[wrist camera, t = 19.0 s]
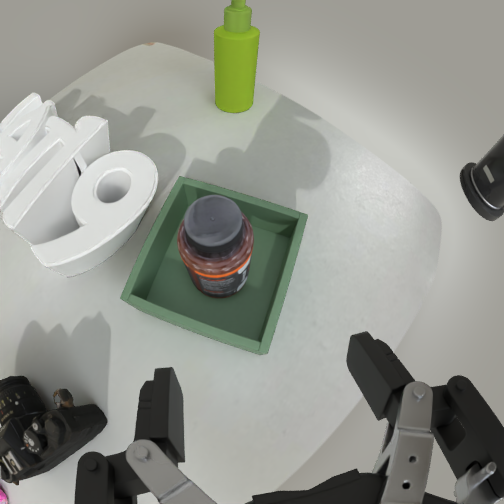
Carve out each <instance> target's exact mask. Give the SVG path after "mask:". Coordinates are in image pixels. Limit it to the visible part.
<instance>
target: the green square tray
mask: <svg viewBox="0 0 504 504" xmlns="http://www.w3.org/2000/svg"><path fill="white" fill-rule="evenodd" d="M208 195H221V196H225V197H227V198H229V199H231V200H232V201H234V202H235V203H236V204H237V206H238V207H239V209H240V211H241V212H242V213H243V214H244V215H245V216H246V217H247V219H248V220H249V222H250V224H251V225H252V229H253V235H254V244H253V251H252V256H251V262H250V269H249V274H248V278H247V280H246V283H245V284H244V286H243V287H242V289H241V290H240V291H238V292H237V293H236V294H234V295H232V296H230V297H227V298H212V297H208V296H206V295H205V294H203V293H202V292H200V291H199V290H198V289H197V288H196V286H195V285H194V284H193V282H192V280H191V278H190V275H189V273H188V271H187V269H186V267H185V265H184V262H183V260H182V258H181V256H180V253H179V250H178V245H177V235H178V230H179V227H180V225H181V223H182V221H183V219H184V217H185V214H186V211H187V209H188V208H189V206H190V205H191V204H192V203H193V202H194V201H196V200H197V199H199V198H201V197H204V196H208ZM307 217H308V215H307V214H304V213H300V212H298V211H295V210H292V209H289V208H286V207H283V206H280V205H277V204H274V203H271V202H268V201H264V200H261V199H258V198H255V197H251V196H248V195H245V194H242V193H238V192H235V191H232V190H228V189H225V188H221V187H218V186H214V185H211V184H207V183H204V182H200V181H197V180H193V179H190V178H185V177H182V176H179V178H178V180H177V181H176V183H175V185H174V187H173V189H172V190H171V192H170V194H169V196H168V198H167V200H166V202H165V204H164V205H163V207H162V209H161V211H160V213H159V215H158V217H157V219H156V221H155V223H154V225H153V227H152V229H151V231H150V233H149V235H148V237H147V239H146V241H145V243H144V245H143V248H142V250H141V252H140V254H139V256H138V258H137V260H136V263H135V265H134V267H133V269H132V272H131V274H130V276H129V278H128V281H127V283H126V285H125V288H124V290H123V292H122V295H121V297H120V298H121V299H122V300H123V301H125V302H127V303H128V304H130V305H131V306H133V307H135V308H136V309H138V310H140V311H143V312H145V313H147V314H150V315H152V316H154V317H157V318H159V319H162V320H164V321H167V322H169V323H172V324H174V325H177V326H179V327H182V328H184V329H187V330H190V331H192V332H195V333H197V334H200V335H203V336H206V337H208V338H211V339H214V340H217V341H220V342H223V343H225V344H228V345H231V346H234V347H237V348H240V349H243V350H246V351H250V352H253V353H256V354H259V355H263V354H267V353H268V350H269V347H270V344H271V341H272V338H273V335H274V332H275V328H276V325H277V322H278V319H279V315H280V312H281V309H282V306H283V302H284V299H285V296H286V292H287V289H288V286H289V282H290V279H291V275H292V272H293V268H294V265H295V261H296V258H297V254H298V251H299V247H300V243H301V240H302V236H303V232H304V229H305V225H306V221H307Z"/></svg>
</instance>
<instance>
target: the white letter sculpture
mask: <svg viewBox="0 0 504 504" xmlns="http://www.w3.org/2000/svg"><path fill="white" fill-rule="evenodd" d="M75 128H76V129H75ZM75 128H74V127H73V126H72V125H71V124H70V123H68V122H67V121H65V120H63V119H61V118H59V117H58V114H57V110H56V107H55V103H54V102H53V101H51V100H47V101H46V102H45V103H43V104H42V101H41V98H40V95H38V94H37V93H31V94H30V95H29V96H28V97H26V98H25V99H24V100H23V101H21V102H20V103H19V104H18V105H17V106H16V107H15V108H14V109H13V110H12V111H11V112H10V113H9V114H8V115H7V116H6V117H5V119H4V120H3V121H2V122H1V123H0V211H1V212H2V213H3V214H2V215H3V220H4V222H5V224H6V225H7V226H8V227H9V228H10V229H11V230H13V231H14V232H15V233H16V234H18V235H19V236H20V237H21V238H23V239H24V240H25V241H26V242H28V243H29V244H30V245H31V246H30V248H31V250H32V251H33V253H34V254H35V256H36V257H37V258H38V260H39V261H40V262H41V263H42V264H43V265H44V266H45V267H46V268H48V269H51V270H53V271H55V272H57V273H59V274H61V275H63V276H66V277H72V276H75V275H78V274H81V273H84V272H86V271H88V270H90V269H92V268H94V267H96V266H97V265H99V264H100V263H102V262H103V261H105V260H106V259H108V258H109V257H110V256H112V255H113V254H114V253H115V252H116V251H117V250H119V249H120V248H121V247H122V246H123V245H124V244H125V243H126V242H127V241H128V240H129V238H130V237H131V236H132V235H133V233H134V232H135V230H136V229H137V227H138V225H139V223H140V221H141V219H142V217H143V215H144V213H145V212H146V210H147V208H148V206H149V204H150V202H151V200H152V199H153V196H154V194H155V192H156V189H157V184H158V172H157V169H156V166H155V164H154V162H153V161H152V160H151V159H150V158H149V157H148V156H147V155H145V154H143V153H141V152H138V151H133V150H121V151H115V152H112V153H110V142H109V129H108V121H107V120H106V119H103V118H101V117H96V116H83V117H82V118H80V119H79V120H78V121H77V122H76V124H75Z"/></svg>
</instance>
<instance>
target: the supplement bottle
mask: <svg viewBox="0 0 504 504" xmlns="http://www.w3.org/2000/svg"><path fill="white" fill-rule="evenodd" d="M253 244H254V235H253V229H252V225H251V224H250V222H249V220H248V219H247V217H246V216H245V215H244V214H243V213H242V212H241V211H240V209H239V207H238V206H237V204H236V203H235V202H234V201H232V200H231V199H229V198H227V197H225V196H221V195H208V196H204V197H201V198H199V199H197V200H196V201H194V202H193V203H192V204H191V205H190V206H189V208H188V209H187V211H186V214H185V217H184V219H183V221H182V223H181V225H180V227H179V230H178V235H177V245H178V250H179V253H180V256H181V258H182V260H183V262H184V265H185V267H186V269H187V271H188V273H189V275H190V278H191V280H192V282H193V284H194V285H195V286H196V288H197V289H198V290H199V291H200V292H202V293H203V294H205V295H206V296H208V297H212V298H227V297H230V296H232V295H234V294H236V293H237V292H238V291H240V290H241V289H242V287H243V286H244V284H245V283H246V280H247V278H248V274H249V269H250V262H251V256H252V251H253Z"/></svg>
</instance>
